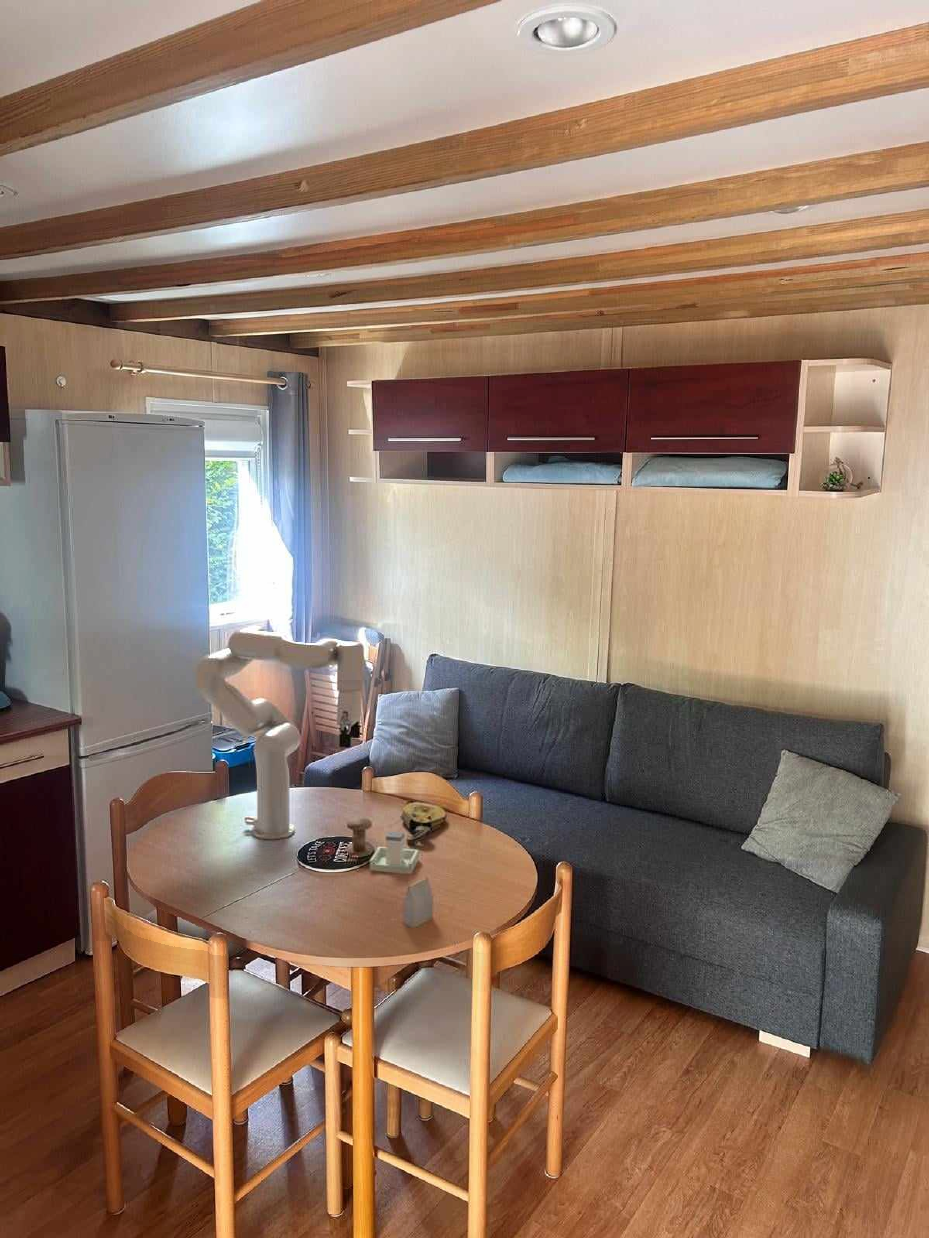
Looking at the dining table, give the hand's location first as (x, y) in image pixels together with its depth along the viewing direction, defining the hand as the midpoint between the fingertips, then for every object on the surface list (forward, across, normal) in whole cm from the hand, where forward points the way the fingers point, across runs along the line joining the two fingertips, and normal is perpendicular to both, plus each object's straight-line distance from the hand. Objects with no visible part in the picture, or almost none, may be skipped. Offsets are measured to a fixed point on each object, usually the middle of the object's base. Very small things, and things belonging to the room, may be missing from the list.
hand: (349, 742), depth 274 cm
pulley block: (+31, -15, +19) cm, 39 cm away
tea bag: (+31, +44, +30) cm, 61 cm away
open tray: (+30, +14, +17) cm, 37 cm away
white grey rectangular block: (+29, +14, +17) cm, 37 cm away
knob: (+30, +7, +5) cm, 31 cm away
